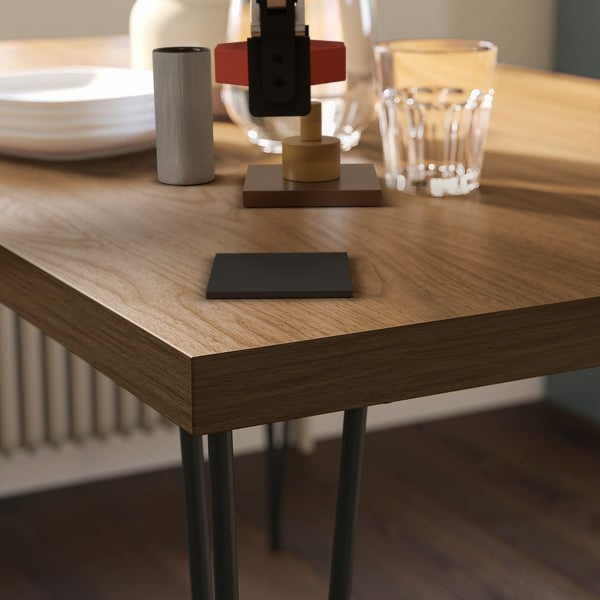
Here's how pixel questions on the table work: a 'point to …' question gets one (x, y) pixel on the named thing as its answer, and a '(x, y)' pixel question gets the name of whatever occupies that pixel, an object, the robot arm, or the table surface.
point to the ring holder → (311, 173)
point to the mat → (280, 275)
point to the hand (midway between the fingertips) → (281, 102)
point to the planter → (183, 115)
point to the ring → (323, 62)
